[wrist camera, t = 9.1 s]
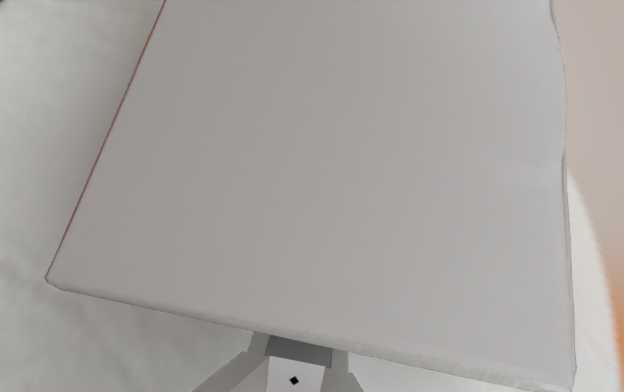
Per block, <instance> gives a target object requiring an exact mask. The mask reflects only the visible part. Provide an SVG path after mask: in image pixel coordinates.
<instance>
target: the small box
mask: <svg viewBox="0 0 624 392" xmlns="http://www.w3.org/2000/svg"><path fill="white" fill-rule="evenodd" d="M566 116H567V91H566V77H565V65H564V59H563V53H562V49H561V43H560V36H559V32H558V27H557V23H556V16H555V8H554V0H165V1H164V3H163V5H162V8H161V10H160V12H159V15H158V17H157V19H156V22H155V24H154V26H153V29H152V31H151V33H150V36H149V38H148V40H147V42H146V45H145V47H144V49H143V51H142V54H141V56H140V59H139V61H138V64H137V66H136V68H135V71H134V73H133V76H132V78H131V80H130V83H129V85H128V88H127V90H126V92H125V95H124V97H123V99H122V101H121V104H120V106H119V108H118V110H117V113H116V115H115V117H114V120H113V122H112V124H111V127H110V129H109V132H108V134H107V136H106V139H105V141H104V143H103V146H102V148H101V150H100V153H99V155H98V157H97V159H96V162H95V164H94V166H93V169H92V171H91V173H90V176H89V178H88V180H87V183H86V185H85V187H84V189H83V192H82V194H81V196H80V199H79V201H78V203H77V206H76V208H75V210H74V213H73V215H72V217H71V220H70V222H69V224H68V227H67V229H66V231H65V234H64V236H63V238H62V241H61V243H60V245H59V248H58V250H57V252H56V255H55V257H54V259H53V261H52V263H51V265H50V267H49V269H48V271H47V273H46V275H45V280H46V282H47V283H49V284H51V285H53V286H55V287H57V288H59V289H61V290H65V291H70V292H75V293H80V294H84V295H89V296H94V297H98V298H103V299H108V300H112V301H117V302H122V303H126V304H131V305H136V306H140V307H145V308H150V309H154V310H159V311H164V312H168V313H173V314H178V315H182V316H187V317H192V318H196V319H201V320H206V321H210V322H215V323H220V324H224V325H229V326H233V327H238V328H243V329H247V330H252V331H256V332H261V333H265V334H270V335H274V336H279V337H284V338H288V339H293V340H297V341H302V342H306V343H311V344H315V345H320V346H325V347H329V348H334V349H338V350H343V351H347V352H352V353H356V354H361V355H366V356H370V357H375V358H379V359H384V360H388V361H393V362H397V363H402V364H407V365H411V366H416V367H420V368H425V369H429V370H434V371H438V372H443V373H448V374H452V375H457V376H461V377H466V378H470V379H475V380H479V381H484V382H489V383H494V384H498V385H503V386H508V387H513V388H517V389H522V390H527V391H532V392H572V388H573V384H574V380H575V374H576V369H577V366H576V355H575V318H574V302H573V288H572V268H571V236H570V222H569V208H568V194H567V168H566Z"/></svg>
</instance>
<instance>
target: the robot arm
mask: <svg viewBox="0 0 624 392" xmlns="http://www.w3.org/2000/svg"><path fill="white" fill-rule="evenodd" d="M348 353H349V352H347V351H343V350H338V349H334V348H329V347H325V346H320V345H315V344H311V343H306V342H302V341H297V340H293V339H288V338H284V337H279V336H274V335H270V334H265V333H261V332H256V331H254V334H253V337H252V340H251V343H250V346H249V348H248V351H247V352H245V351H243V352H241V353H240V354H239V355H238V356H236V357H235V358H234V359H233V360H231V361H230V362H229V363H228V364H226V365H225V366H224V367H223V368H221V369H220V370H219V371H217V372H216V373H215V374H214V375H212V376H211V377H210V378H209V379H207V380H206V381H205V382H204V383H202V384H201V385H200V386H199V387H197V388H196V389H195V390H194V391H192V392H363V390H362V388H361V387H360V385H359V383H358V382H357V380H356V378H355V376H354V375H353V373H350V372H348Z"/></svg>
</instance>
